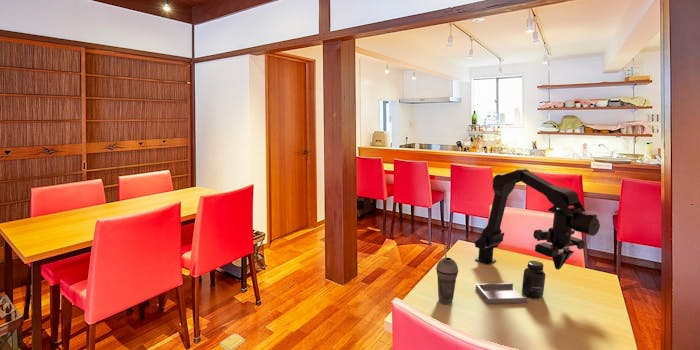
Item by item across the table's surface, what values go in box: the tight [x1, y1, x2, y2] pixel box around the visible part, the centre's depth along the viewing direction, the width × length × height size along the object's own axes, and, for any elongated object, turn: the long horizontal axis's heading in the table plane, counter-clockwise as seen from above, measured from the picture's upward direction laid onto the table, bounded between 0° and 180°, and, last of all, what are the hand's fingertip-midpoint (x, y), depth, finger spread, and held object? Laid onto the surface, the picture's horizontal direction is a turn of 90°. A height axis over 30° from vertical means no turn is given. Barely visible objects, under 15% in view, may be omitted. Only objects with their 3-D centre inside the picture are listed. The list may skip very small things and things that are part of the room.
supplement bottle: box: [521, 260, 547, 300], centre depth 124 cm, size 7×7×12 cm
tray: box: [475, 282, 529, 305], centre depth 124 cm, size 14×10×2 cm
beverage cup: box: [435, 244, 459, 306], centre depth 119 cm, size 7×7×20 cm
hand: (557, 269), depth 124 cm, fingers closed
